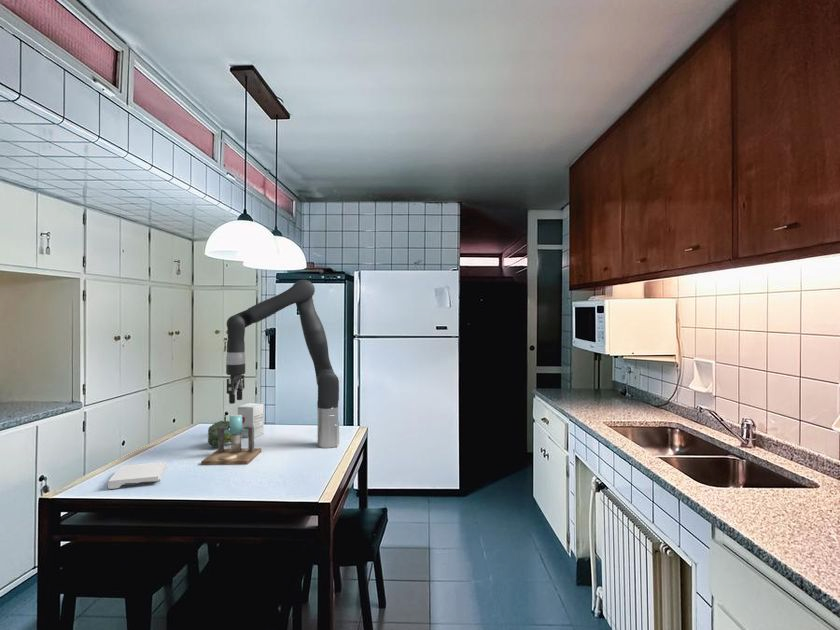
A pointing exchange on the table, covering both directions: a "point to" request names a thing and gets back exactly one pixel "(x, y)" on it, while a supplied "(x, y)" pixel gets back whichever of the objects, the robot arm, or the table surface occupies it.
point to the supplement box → (252, 418)
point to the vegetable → (214, 433)
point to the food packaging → (137, 474)
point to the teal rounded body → (235, 425)
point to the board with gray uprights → (233, 450)
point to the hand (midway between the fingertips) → (235, 401)
